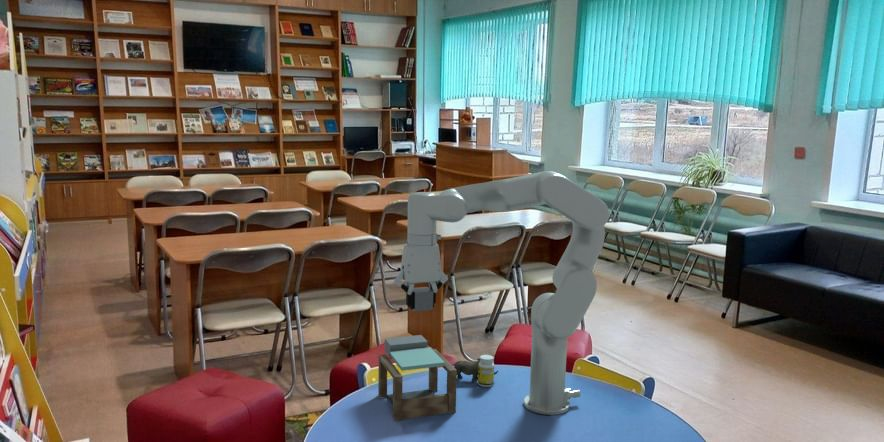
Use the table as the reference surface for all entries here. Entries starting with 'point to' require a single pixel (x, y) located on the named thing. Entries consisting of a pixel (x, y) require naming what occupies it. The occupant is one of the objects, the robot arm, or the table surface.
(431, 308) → the block
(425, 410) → the frame
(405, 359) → the grey and green slab
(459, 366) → the rhino figurine
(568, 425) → the table surface
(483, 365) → the supplement bottle
